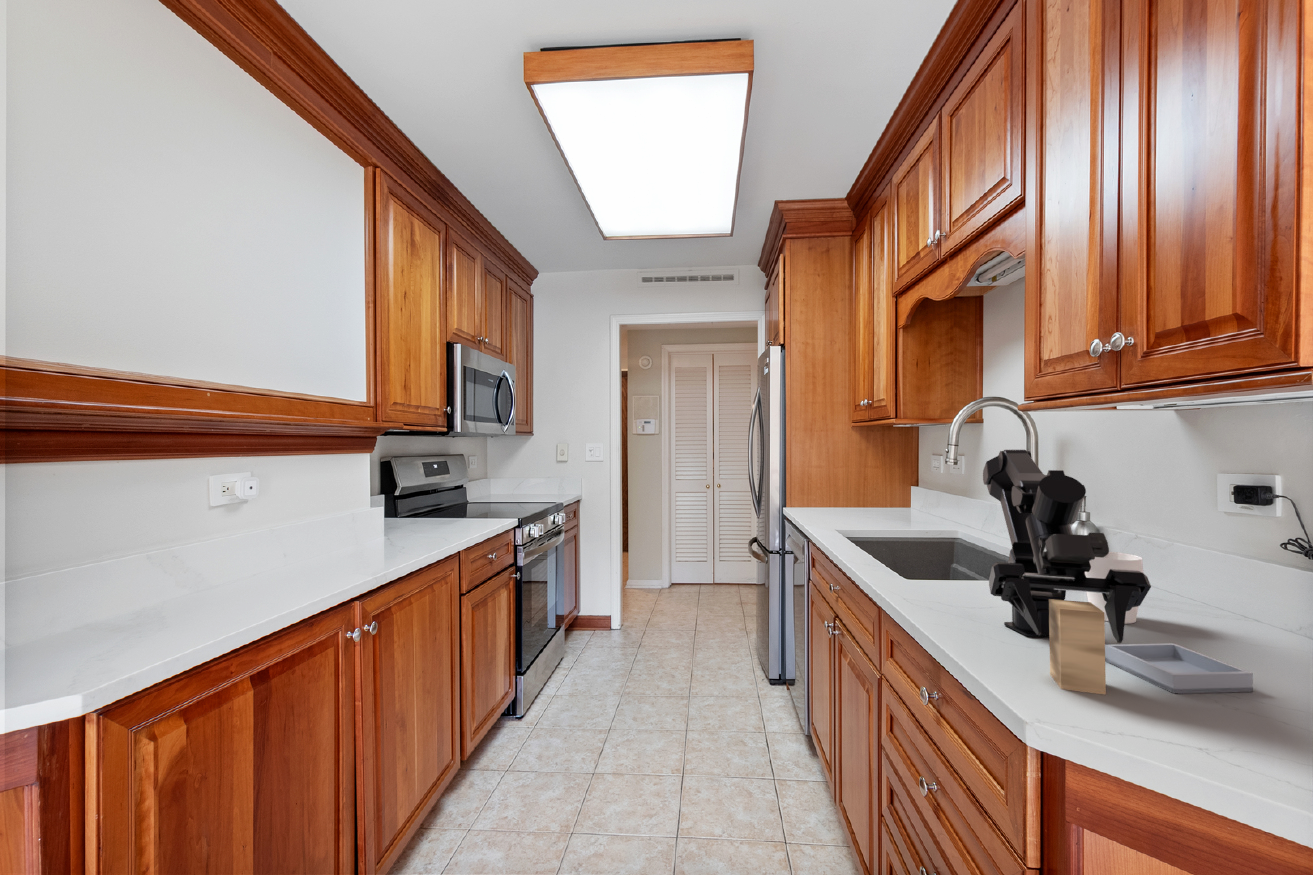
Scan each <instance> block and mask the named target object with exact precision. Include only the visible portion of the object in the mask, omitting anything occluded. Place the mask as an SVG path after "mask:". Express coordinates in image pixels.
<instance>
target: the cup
mask: <svg viewBox="0 0 1313 875" xmlns="http://www.w3.org/2000/svg"><path fill="white" fill-rule="evenodd" d="M1089 562H1090V565H1091V569H1090V571H1089V572H1085V575H1086V578H1101V579H1105V578H1106V576H1107V574H1108V572H1109V570H1110V569H1116V570H1133V571H1140V572H1142V573H1144V566H1143V557H1141V556H1139V555H1134V554H1131V553H1124V552H1118V551H1109V553H1108V554H1107V555H1106V556H1105V557H1095V559H1094V560H1090V561H1089ZM1144 574H1145V573H1144ZM1086 595H1087V596H1086V597H1087V602H1091V603H1092V604H1093V605H1095V606H1096V607H1098V608H1099V609H1100V610H1102V611H1103V612H1104V618H1105V622H1107V623H1109V620H1108V617H1107V614H1106V611H1105V608H1104V606H1105V605H1106V603H1107V602H1106V601H1105V600H1104V598H1103V595H1102V593H1096V592H1086ZM1138 611H1139V606H1137V607H1132V609H1131V610H1129V611H1126V616H1125V625H1126V624H1129V625H1131V624H1133V623H1136V622H1137V617H1138V613H1139V612H1138Z"/></svg>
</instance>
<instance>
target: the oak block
mask: <svg viewBox="0 0 1313 875" xmlns="http://www.w3.org/2000/svg"><path fill="white" fill-rule="evenodd" d="M1105 622H1106V621H1105V618H1104V612H1103V611H1102V610H1100V609H1099V608H1098V607H1096V606H1095V605H1093V604H1092V603H1091V602H1088V601H1079V600H1078V601H1077V600H1066V599H1064V600H1055V599H1049V636H1048V637H1049V675H1050V677H1052V679H1053V681H1055V684H1057V685H1058V687H1059V688H1060V689H1061V690H1067V691H1076V692H1082V693H1090V694H1097V695H1107V693H1106V692H1107V691H1106V688H1107V687H1106V686H1107V684H1106V682H1107V681H1106V661H1105V645H1106V639H1105V638H1106V632H1105V631H1106V630H1105V625H1106V624H1105Z"/></svg>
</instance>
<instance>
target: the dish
mask: <svg viewBox="0 0 1313 875" xmlns="http://www.w3.org/2000/svg"><path fill="white" fill-rule="evenodd" d="M1105 663H1108V664H1110V663H1111V664H1110V665H1113V666H1115V667H1116V668H1119V669H1120V670H1123V671H1125V672H1126V673H1129V672H1130V673H1129V674H1131V673H1132V674H1131V675H1134V676H1136V677H1138V678H1139V679H1142V680H1144V681H1146V682H1148V681H1149V683H1150V682H1151V684H1152V683H1153V684H1152V685H1154V686H1157V685H1158V686H1157V687H1159V686H1160V687H1159V688H1162V689H1163V688H1164V689H1163V690H1165V689H1167V690H1168V692H1169V691H1170V692H1169V693H1171V692H1172V694H1174V693H1178V694H1207V693H1208V694H1212V693H1216V694H1218V693H1220V694H1221V693H1251V692H1254V684H1253V683H1254V676H1253V675H1254V674H1253V672H1250V671H1248V670H1246V669H1243V668H1240V667H1238V666H1235V665H1232V664H1229V663H1228V662H1227V663H1226V662H1225V661H1222V660H1219V659H1216V658H1214V657H1211V656H1208V655H1205V654H1203V653H1200V652H1197V651H1195V650H1192V649H1190V648H1188V647H1185V646H1182V645H1179V644H1176V643H1173V642H1172V643H1169V642H1168V643H1129V644H1128V643H1124V644H1123V643H1117V644H1105ZM1167 690H1166V691H1167Z"/></svg>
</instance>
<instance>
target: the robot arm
mask: <svg viewBox="0 0 1313 875" xmlns="http://www.w3.org/2000/svg"><path fill="white" fill-rule="evenodd" d="M984 464H985V465H984V467H983V470H982V482H983V486H985V485H986V487H987V491H988V494H989V495H990V496H991V497H993V498H995V500H998V501H999V502H1000V504H1001V508H1002V512H1003V513H1002V514H1003V516H1004V521H1005V525H1006V528H1007V532H1008V535H1009V539H1010V544H1011V548H1010V551H1009V555H1008V561H1007V562H1001V561H1000V562H999V561H998V562H997V561H995V562H994V564H993V565H991V570H990V572H989V573H990V574H989V577H988V586H989V592H990V595H992V596H994V597H1000V599H1001V600H1002V601H1003V602H1007V603H1009V604H1010V605H1011V618H1012V619H1011V620H1012V621H1004V622H1003V624H1004V626H1006V627H1007V628H1009V629H1012V630H1014V631H1016V632H1018V633H1019V634H1021V635H1023V636H1026V637H1031V638H1032V637H1049V599H1055V600H1066V594H1067V591H1070V592H1083V593H1084V592H1086V593H1087V592H1096V593H1102V595H1103V598H1104V600H1105V601H1106V602H1107V603H1106V605H1105V606H1104V608H1105V611H1106V614H1107V617H1108V620H1109V622H1108V624H1109V626H1110V630H1111V632H1112V634H1113V637H1114V639H1115V641H1116V643H1117V644H1122V643H1123V640H1124V635H1125V634H1124V632H1125V625H1126V624H1125V616H1126V611H1129V610H1131V609H1132V607H1137V606H1138V607H1140V606H1142V605H1141V604H1142V603H1143V601H1144V600H1145V598H1146V597H1147V594H1148V593H1149V592H1150V590H1151V588H1152V585H1151V583H1150V581H1149V577H1148V576H1147V575H1146V574H1145V573H1142V572H1140V571H1133V570H1116V569H1110V570H1109V572H1108V574H1107V576H1106V578H1105V579H1101V578H1086V575H1085V572H1089V571H1090V569H1091V565H1090V562H1089V561H1090V560H1094V559H1095V557H1105V556H1106V555H1107V554H1108V553H1109V552H1110V548H1109V542H1108V540H1107V538H1106V536H1105V533H1104V532H1088V533H1087V534H1073V530H1072V528H1071V525H1070V524H1075V522H1076V520H1077V518H1078V516H1079V513H1080V510H1081V506H1082V504H1083V503H1084V502H1083V501H1084V499H1085V496H1086V493H1087V491H1086V489H1087V488H1086V486H1085V485H1084V484H1082V483H1081V482H1080V481H1079V480H1078V479H1076V478H1074V477H1072V476H1069V475H1066V474H1065V471H1064V470H1060V469H1059V470H1058V469H1057V470H1054V469H1052V470H1051V469H1049V470H1048V471H1047V474H1044V472H1042V470H1041V469H1040V468H1039V467H1038V464H1036V462H1035V461H1034V460H1033V458H1032V454H1031V451H1030V450H1026V449H1004V450H1000V451H999V453H998V455H997V456H995V457H993V458H991V459H989V460H987V461H986V462H985V463H984Z"/></svg>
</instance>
